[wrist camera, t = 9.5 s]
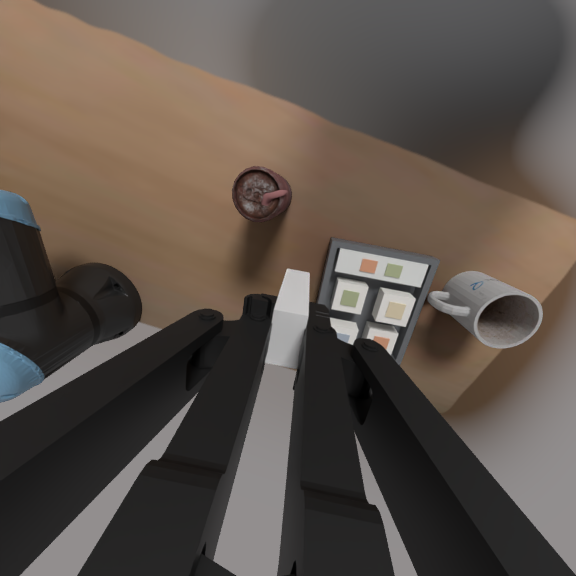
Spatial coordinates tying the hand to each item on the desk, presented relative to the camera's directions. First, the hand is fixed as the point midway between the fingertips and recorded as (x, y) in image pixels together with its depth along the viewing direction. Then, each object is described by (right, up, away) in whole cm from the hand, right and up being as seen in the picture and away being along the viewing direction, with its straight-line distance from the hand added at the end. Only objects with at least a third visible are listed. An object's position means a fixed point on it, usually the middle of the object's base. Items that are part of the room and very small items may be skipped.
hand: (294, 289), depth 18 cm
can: (-3, +15, +25) cm, 30 cm away
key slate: (+9, -8, +30) cm, 32 cm away
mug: (+29, 0, +28) cm, 40 cm away
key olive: (+10, -1, +29) cm, 31 cm away
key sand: (+17, -2, +27) cm, 32 cm away
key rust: (+16, -9, +31) cm, 36 cm away
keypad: (+13, -2, +30) cm, 33 cm away
